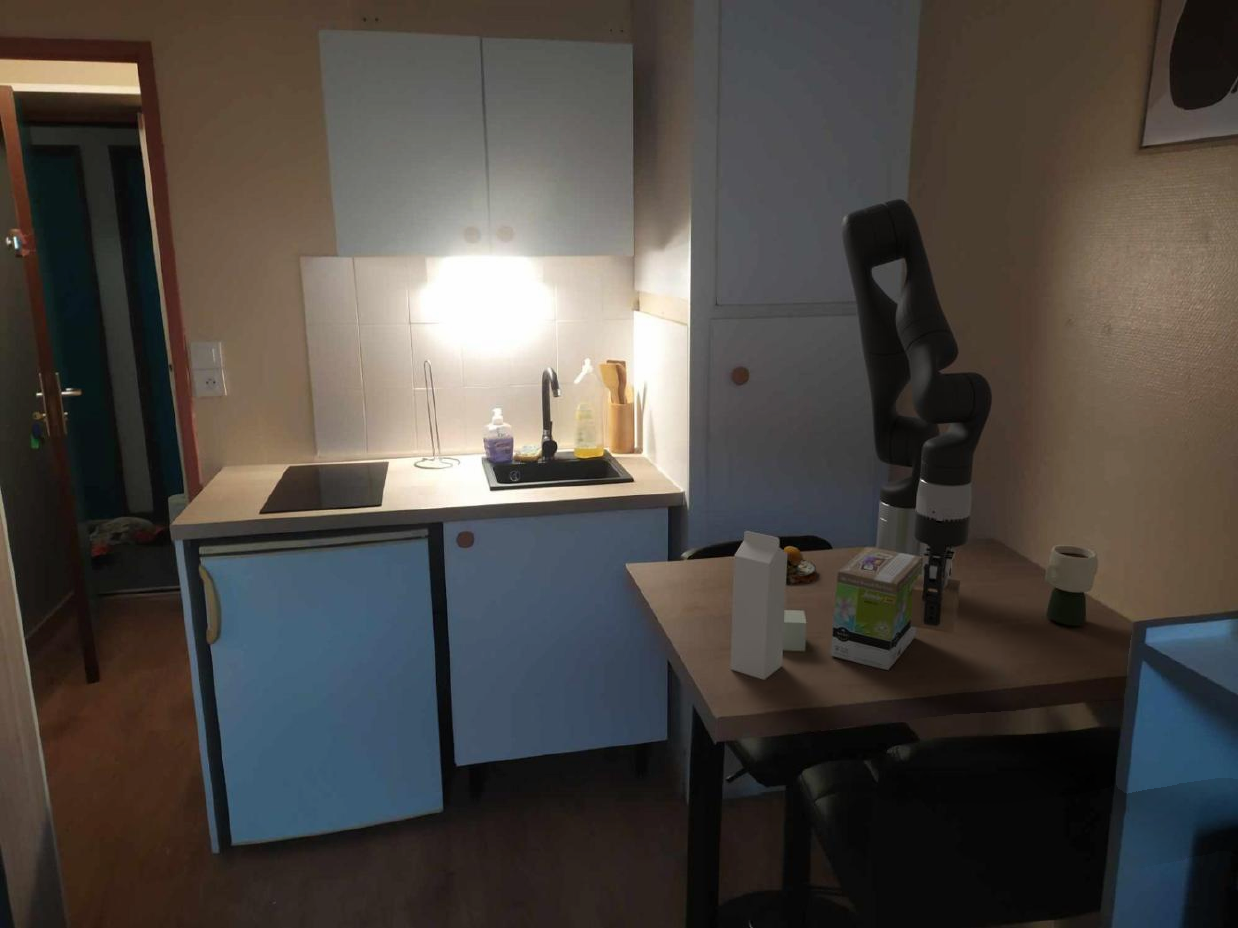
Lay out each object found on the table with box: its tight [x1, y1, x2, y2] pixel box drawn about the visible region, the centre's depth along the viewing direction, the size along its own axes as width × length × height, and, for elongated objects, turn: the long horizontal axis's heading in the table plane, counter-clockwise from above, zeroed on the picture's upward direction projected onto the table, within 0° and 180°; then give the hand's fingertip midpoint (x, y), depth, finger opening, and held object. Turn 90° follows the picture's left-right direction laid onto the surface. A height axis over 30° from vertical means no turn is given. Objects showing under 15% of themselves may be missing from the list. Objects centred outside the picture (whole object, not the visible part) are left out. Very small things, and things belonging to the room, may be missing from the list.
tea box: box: [830, 546, 923, 671], centre depth 152 cm, size 15×10×15 cm
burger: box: [783, 544, 817, 585], centre depth 186 cm, size 12×12×8 cm
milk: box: [730, 530, 787, 681], centre depth 144 cm, size 6×6×22 cm
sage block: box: [783, 609, 808, 652], centre depth 154 cm, size 5×5×5 cm
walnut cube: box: [910, 575, 961, 634], centre depth 140 cm, size 6×6×6 cm
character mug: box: [1044, 544, 1099, 627], centre depth 162 cm, size 11×7×13 cm, turn 109°
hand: (934, 615), depth 141 cm, fingers closed on walnut cube, 6 cm apart
